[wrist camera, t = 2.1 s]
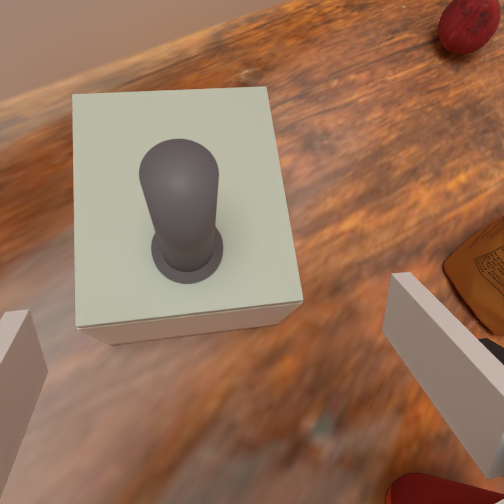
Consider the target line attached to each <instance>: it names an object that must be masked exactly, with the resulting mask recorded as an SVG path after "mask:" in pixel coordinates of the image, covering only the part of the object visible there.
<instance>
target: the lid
mask: <svg viewBox="0 0 504 504" xmlns="http://www.w3.org/2000/svg"><path fill="white" fill-rule="evenodd" d="M72 100H73V171H74V242H75V314H76V327H77V328H79V329H80V328H88V327H97V326H105V325H114V324H122V323H131V322H139V321H148V320H156V319H165V318H173V317H182V316H190V315H199V314H207V313H216V312H224V311H233V310H241V309H250V308H258V307H267V306H275V305H284V304H292V303H301V302H302V301H303V295H302V289H301V283H300V278H299V272H298V266H297V260H296V255H295V249H294V243H293V238H292V232H291V226H290V220H289V215H288V209H287V203H286V197H285V192H284V186H283V180H282V174H281V169H280V163H279V157H278V152H277V146H276V140H275V134H274V129H273V123H272V117H271V111H270V106H269V100H268V94H267V88H266V87H243V88H218V89H193V90H168V91H143V92H118V93H94V94H72Z"/></svg>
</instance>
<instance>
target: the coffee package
mask: <svg viewBox="0 0 504 504" xmlns="http://www.w3.org/2000/svg"><path fill="white" fill-rule="evenodd" d="M444 270H445V273H446V274H447V276H448V277H449V278H450V279H451V281H452V282H453V284H454V286H455V287H456V289H457V290H458V292H459V294H460V295H461V297H462V298H463V299H464V300H465V302H466V303H467V305H468V306H469V307H470V308H471V309H472V310H473V312H474V314H475V315H476V317H477V318H478V319H479V320H480V322H481V323H483V324H484V325H485V326H486V327H487V328H488V329H489V330H490V331H491V332H492V333H493V334H495V335H498V336H499V335H504V216H503V217H501V218H500V219H498V220H496V221H494V222H493V223H491V224H489V225H488V226H486V227H484V228H483V229H481V230H480V231H478V232H477V233H476V234H474V235H473V236H472V237H470V238H469V239H468V240H466V241H465V242H464V243H463V244H462V245H461V246H460V247H459V248H457V249H456V250H455V251H454V252H453V253H452V254H451V255H450V256H449V257H448V258H447V259H446V261H445V262H444Z"/></svg>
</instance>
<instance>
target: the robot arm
mask: <svg viewBox="0 0 504 504" xmlns="http://www.w3.org/2000/svg"><path fill="white" fill-rule="evenodd" d="M382 332H383V333H384V335H385V336H386V338H387V339H388V340H389V342H390V343H391V345H392V346H393V348H394V349H395V350H396V352H397V353H398V355H399V356H400V357H401V359H402V360H403V362H404V363H405V365H406V366H407V367H408V369H409V370H410V372H411V373H412V374H413V376H414V377H415V379H416V380H417V381H418V383H419V384H420V386H421V387H422V389H423V390H424V391H425V393H426V394H427V396H428V397H429V398H430V400H431V401H432V403H433V404H434V406H435V407H436V408H437V410H438V411H439V413H440V414H441V415H442V417H443V418H444V420H445V421H446V422H447V424H448V425H449V427H450V428H451V430H452V431H453V432H454V434H455V435H456V437H457V438H458V439H459V441H460V442H461V444H462V445H463V447H464V448H465V449H466V451H467V452H468V454H469V455H470V456H471V458H472V459H473V461H474V462H475V463H476V465H477V466H478V468H479V469H480V471H481V472H482V473H483V475H484V476H485V478H486V479H490V478H495V477H501V476H504V348H503V347H502V346H500V345H498V344H496V343H495V342H493V341H491V340H489V339H488V338H484V339H477V338H476V337H475V336H474V335H473V334H472V333H471V332H470V331H469V330H468V329H467V328H466V327H465V326H464V325H463V324H462V323H461V322H460V321H459V320H458V319H457V318H456V317H455V316H454V315H453V314H452V313H451V312H450V311H449V310H448V309H447V308H446V307H445V306H444V305H443V304H442V303H441V302H440V301H439V300H438V299H437V298H436V297H435V296H434V295H433V294H432V293H431V292H430V291H428V290H427V289H426V288H425V287H424V286H423V285H422V284H421V283H420V282H419V281H418V280H417V279H416V278H415V277H414V276H413V275H412V274H411V273H410V272H404V273H394V274H391V278H390V285H389V291H388V297H387V304H386V310H385V316H384V323H383V329H382ZM47 373H48V369H47V365H46V362H45V359H44V356H43V352H42V349H41V346H40V342H39V339H38V336H37V333H36V329H35V326H34V323H33V320H32V316H31V313H30V310H20V311H10V312H5V313H4V315H3V317H2V318H1V320H0V498H1V495H2V492H3V490H4V487H5V484H6V482H7V479H8V476H9V474H10V471H11V469H12V466H13V463H14V461H15V458H16V455H17V453H18V450H19V447H20V445H21V442H22V439H23V437H24V434H25V431H26V429H27V426H28V423H29V421H30V418H31V416H32V413H33V410H34V408H35V405H36V402H37V400H38V397H39V394H40V392H41V389H42V386H43V384H44V381H45V378H46V376H47Z"/></svg>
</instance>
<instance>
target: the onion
mask: <svg viewBox="0 0 504 504" xmlns="http://www.w3.org/2000/svg"><path fill="white" fill-rule="evenodd" d="M499 21H500V4H499V2H498V0H453V1H452V2H451V3H450V4H449V5H448V6H447V7H446V9H445V10H444V11H443V13H442V16H441V18H440V22H439V26H438V34H439V39H440V42H441V44H442V45H443V47H444V48H445V49H447V50H448V51H450V52H452V53H455V54H467V53H470V52H473V51H475V50H477V49H479V48H481V47H482V46H484V45H485V44H486V43H487V42H488V41H489V39H490V38H491V37H492V36H493V34H494V33H495V31H496V30H497V27H498V25H499Z"/></svg>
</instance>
